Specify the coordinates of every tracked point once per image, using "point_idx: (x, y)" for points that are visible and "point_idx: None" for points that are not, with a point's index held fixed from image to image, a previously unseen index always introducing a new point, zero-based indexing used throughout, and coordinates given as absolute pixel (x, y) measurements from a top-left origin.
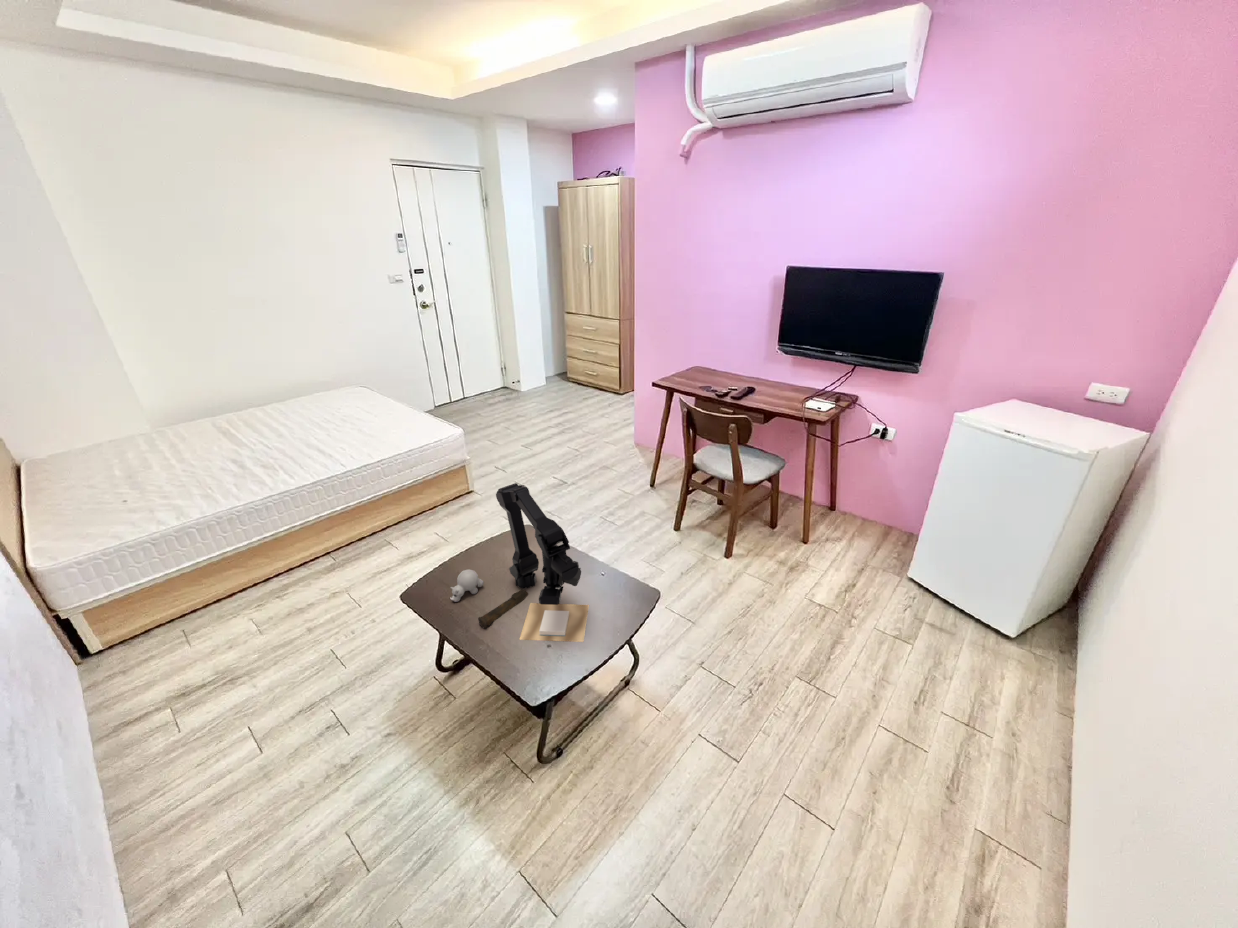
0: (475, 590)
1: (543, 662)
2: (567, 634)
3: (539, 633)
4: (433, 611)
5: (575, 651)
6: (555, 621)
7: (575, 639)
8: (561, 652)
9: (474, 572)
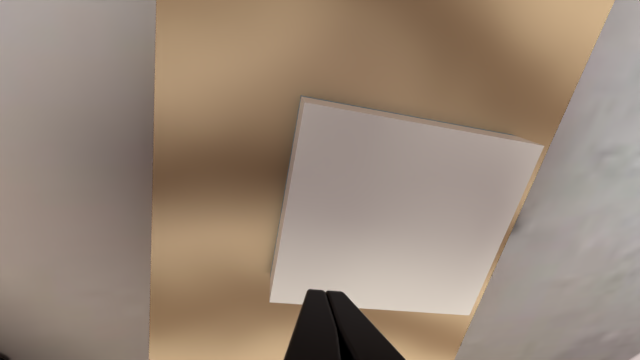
0: None
1: (602, 244)
2: (501, 116)
3: None
4: None
5: (617, 61)
6: (410, 220)
7: (570, 55)
8: (584, 153)
9: None
